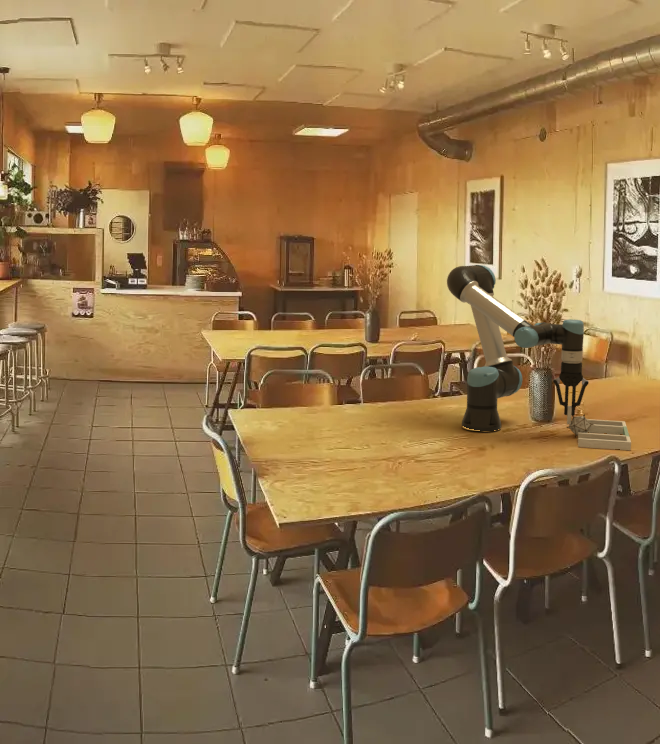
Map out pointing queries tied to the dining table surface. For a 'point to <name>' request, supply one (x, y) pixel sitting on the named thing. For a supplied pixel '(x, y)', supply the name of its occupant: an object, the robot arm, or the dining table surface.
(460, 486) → the dining table surface
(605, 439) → the trap box
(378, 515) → the dining table surface
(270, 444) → the dining table surface
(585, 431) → the game die
